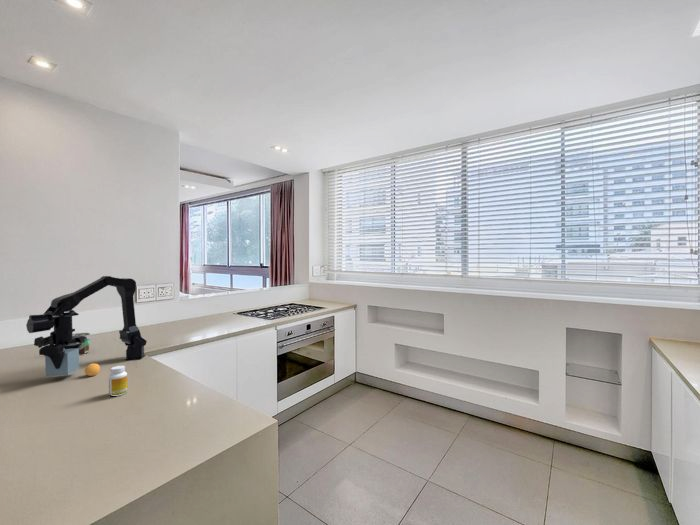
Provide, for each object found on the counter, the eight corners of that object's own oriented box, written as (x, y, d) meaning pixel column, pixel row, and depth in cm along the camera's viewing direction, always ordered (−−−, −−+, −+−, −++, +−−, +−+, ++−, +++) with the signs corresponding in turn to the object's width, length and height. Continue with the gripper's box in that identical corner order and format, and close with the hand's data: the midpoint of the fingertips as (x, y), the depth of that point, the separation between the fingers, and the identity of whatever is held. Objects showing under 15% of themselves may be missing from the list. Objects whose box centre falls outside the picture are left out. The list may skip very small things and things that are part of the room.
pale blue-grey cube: (79, 368, 134) (78, 348, 134) (67, 374, 127) (67, 353, 127) (58, 370, 132) (57, 349, 132) (45, 376, 125) (45, 354, 125)
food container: (98, 351, 168) (97, 332, 168) (87, 354, 162) (86, 335, 162) (77, 350, 169) (76, 332, 169) (65, 354, 163) (65, 335, 163)
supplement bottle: (131, 392, 115) (130, 365, 115) (116, 398, 110) (115, 370, 110) (120, 390, 117) (120, 364, 117) (105, 396, 112) (104, 369, 111)
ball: (93, 359, 134) (86, 370, 134) (86, 363, 129) (79, 374, 129) (105, 365, 135) (98, 375, 135) (98, 368, 130) (91, 379, 130)
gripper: (55, 324, 137) (56, 360, 137) (21, 334, 118) (22, 375, 119) (85, 322, 139) (86, 358, 139) (56, 332, 121) (57, 372, 121)
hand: (64, 365), depth 130 cm, fingers closed on pale blue-grey cube, 7 cm apart
